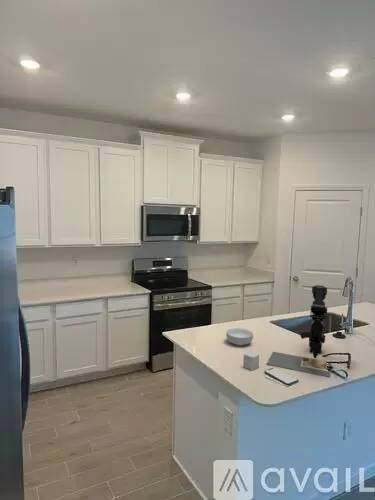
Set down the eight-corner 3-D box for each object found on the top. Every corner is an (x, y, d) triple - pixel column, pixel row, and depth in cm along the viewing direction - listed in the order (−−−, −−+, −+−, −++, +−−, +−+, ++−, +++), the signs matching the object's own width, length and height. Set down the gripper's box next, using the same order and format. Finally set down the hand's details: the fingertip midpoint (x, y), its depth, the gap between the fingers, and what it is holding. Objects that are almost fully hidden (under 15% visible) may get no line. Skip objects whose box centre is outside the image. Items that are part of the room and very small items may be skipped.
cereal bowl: (224, 346, 211) (224, 335, 210) (227, 337, 227) (227, 327, 226) (252, 349, 207) (252, 338, 206) (253, 340, 223) (253, 329, 222)
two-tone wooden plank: (326, 366, 185) (327, 361, 185) (326, 369, 180) (326, 364, 180) (303, 361, 190) (303, 357, 190) (302, 365, 185) (302, 360, 185)
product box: (259, 367, 183) (259, 354, 182) (252, 371, 178) (253, 357, 178) (249, 363, 187) (250, 351, 186) (242, 367, 183) (243, 353, 182)
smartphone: (299, 382, 168) (274, 369, 181) (299, 379, 168) (275, 366, 181) (287, 387, 163) (263, 373, 176) (287, 384, 163) (263, 370, 176)
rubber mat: (272, 352, 203) (272, 351, 203) (331, 362, 190) (331, 361, 190) (266, 364, 186) (266, 363, 186) (330, 377, 173) (330, 376, 173)
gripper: (303, 319, 194) (301, 346, 196) (299, 329, 177) (297, 358, 179) (324, 322, 190) (322, 349, 191) (322, 333, 173) (320, 362, 174)
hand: (315, 354), depth 184 cm, fingers open, 9 cm apart
